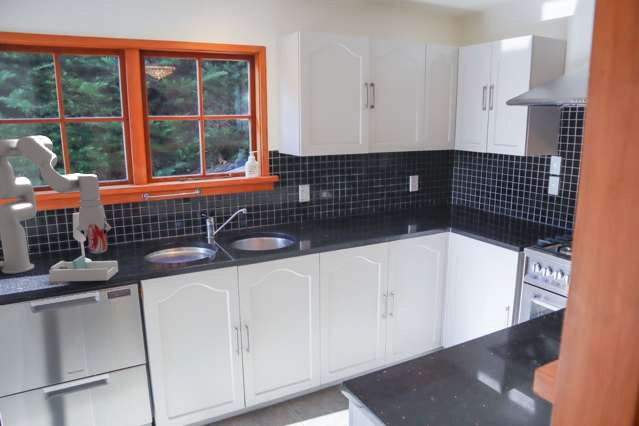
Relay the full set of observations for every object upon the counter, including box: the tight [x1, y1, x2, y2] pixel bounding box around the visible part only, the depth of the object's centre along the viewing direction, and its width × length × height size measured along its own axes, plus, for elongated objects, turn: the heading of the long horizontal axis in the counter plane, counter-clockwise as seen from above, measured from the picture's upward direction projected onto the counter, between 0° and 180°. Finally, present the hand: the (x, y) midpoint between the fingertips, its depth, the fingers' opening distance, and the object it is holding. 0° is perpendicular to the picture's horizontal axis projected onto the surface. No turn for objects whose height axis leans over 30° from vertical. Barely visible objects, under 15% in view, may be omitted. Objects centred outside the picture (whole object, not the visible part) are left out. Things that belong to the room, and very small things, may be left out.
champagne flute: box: [72, 211, 92, 262], centre depth 225 cm, size 7×7×24 cm
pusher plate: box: [71, 255, 86, 269], centre depth 204 cm, size 2×8×7 cm, turn 2°
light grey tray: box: [48, 260, 119, 283], centre depth 204 cm, size 24×12×6 cm, turn 92°
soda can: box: [87, 224, 108, 254], centre depth 202 cm, size 7×7×13 cm
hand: (95, 244), depth 202 cm, fingers closed on soda can, 4 cm apart
